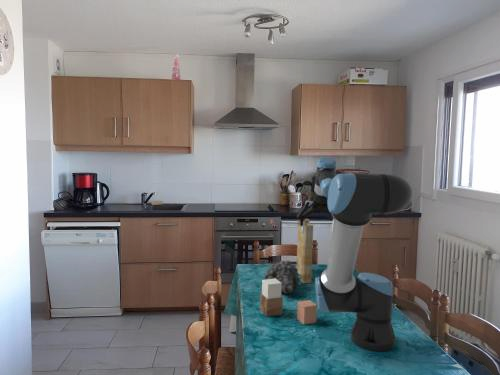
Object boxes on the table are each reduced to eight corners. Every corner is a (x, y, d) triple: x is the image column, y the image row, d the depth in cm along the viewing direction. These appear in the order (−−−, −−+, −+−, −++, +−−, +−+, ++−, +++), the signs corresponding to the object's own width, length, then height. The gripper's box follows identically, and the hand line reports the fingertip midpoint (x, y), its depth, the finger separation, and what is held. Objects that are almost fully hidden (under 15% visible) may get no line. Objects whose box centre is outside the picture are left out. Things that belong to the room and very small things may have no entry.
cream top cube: (281, 297, 154) (281, 283, 153) (267, 299, 152) (268, 284, 151) (275, 292, 159) (275, 278, 159) (261, 293, 157) (262, 279, 157)
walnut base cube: (282, 314, 154) (282, 297, 153) (266, 316, 152) (267, 299, 151) (275, 307, 161) (275, 291, 160) (259, 309, 158) (260, 293, 157)
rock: (268, 309, 175) (297, 302, 170) (254, 280, 174) (284, 272, 168) (278, 286, 195) (305, 279, 190) (266, 260, 194) (293, 252, 188)
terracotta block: (316, 322, 147) (316, 305, 146) (303, 324, 145) (304, 306, 144) (309, 316, 152) (309, 300, 151) (297, 318, 150) (297, 301, 149)
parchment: (295, 269, 215) (297, 217, 212) (306, 270, 215) (308, 218, 212) (299, 283, 192) (301, 225, 189) (311, 284, 191) (313, 225, 189)
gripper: (350, 188, 164) (343, 227, 175) (293, 186, 165) (289, 225, 176) (354, 197, 158) (346, 237, 169) (294, 195, 158) (290, 235, 169)
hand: (317, 231), depth 172 cm, fingers open, 13 cm apart
